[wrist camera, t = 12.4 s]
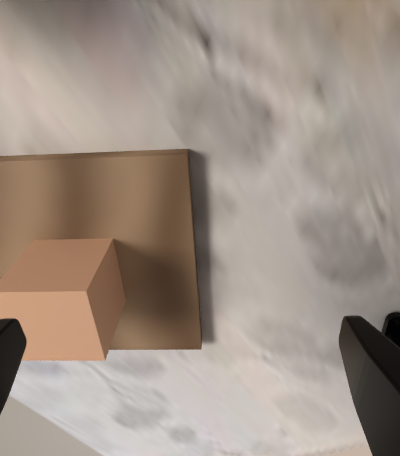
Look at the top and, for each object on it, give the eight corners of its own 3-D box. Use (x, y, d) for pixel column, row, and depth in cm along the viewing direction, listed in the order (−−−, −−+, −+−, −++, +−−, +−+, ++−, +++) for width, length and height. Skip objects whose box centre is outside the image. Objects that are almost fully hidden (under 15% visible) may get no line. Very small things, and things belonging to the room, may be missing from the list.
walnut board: (188, 148, 19) (187, 154, 18) (201, 339, 27) (201, 349, 26) (-66, 159, 20) (-78, 164, 19) (15, 339, 28) (9, 349, 27)
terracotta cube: (113, 238, 21) (85, 291, 17) (125, 300, 24) (105, 360, 19) (34, 240, 21) (-12, 292, 17) (55, 301, 24) (19, 360, 20)
